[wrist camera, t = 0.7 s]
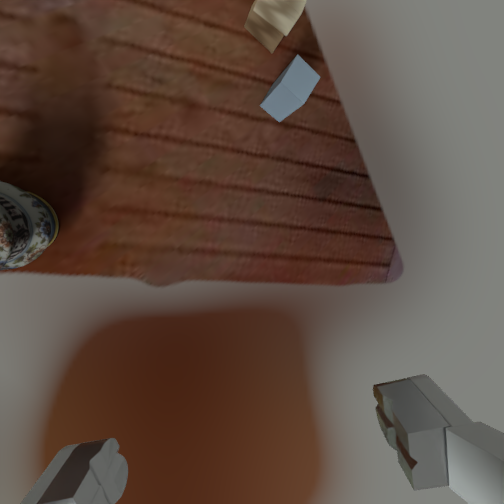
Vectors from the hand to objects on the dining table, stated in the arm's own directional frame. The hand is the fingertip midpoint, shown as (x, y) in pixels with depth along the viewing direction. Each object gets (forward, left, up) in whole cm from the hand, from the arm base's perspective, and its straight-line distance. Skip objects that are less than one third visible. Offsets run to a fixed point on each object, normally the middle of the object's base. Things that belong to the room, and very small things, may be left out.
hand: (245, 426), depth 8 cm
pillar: (+1, +29, -41) cm, 50 cm away
